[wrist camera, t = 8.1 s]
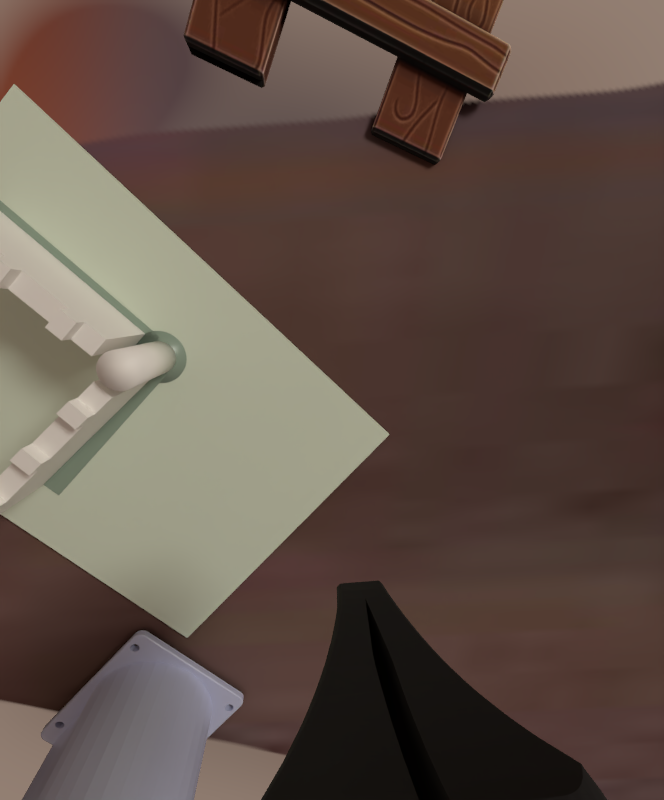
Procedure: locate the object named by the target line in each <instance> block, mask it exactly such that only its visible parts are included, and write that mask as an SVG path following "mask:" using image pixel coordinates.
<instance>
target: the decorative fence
mask: <svg viewBox="0 0 664 800" xmlns="http://www.w3.org/2000/svg"><path fill="white" fill-rule="evenodd" d="M291 1H292V2H294V3H296V4H298V5H300V6H302V7H304V8H306V9H307V10H309V11H311V12H313V13H315V14H317V15H319V16H321V17H323V18H325V19H327V20H328V21H331V22H332V23H334V24H336V25H338V26H340V27H342V28H344V29H346V30H348V31H350V32H352V33H353V34H356V35H357V36H359V37H361V38H363V39H365V40H367V41H369V42H371V43H373V44H375V45H376V46H378V47H380V48H382V49H384V50H386V51H388V52H390V53H392V54H394V55H395V56H397V60H396V63H395V65H394V69H393V71H392V74H391V76H390V79H389V82H388V85H387V88H386V90H385V93H384V96H383V99H382V102H381V105H380V107H379V110H378V112H377V116H376V119H375V121H374V124H373V127H372V130H371V132H372V135H374V136H376V137H378V138H380V139H382V140H384V141H386V142H389V143H391V144H393V145H395V146H397V147H399V148H401V149H403V150H405V151H407V152H409V153H411V154H413V155H416V156H418V157H420V158H422V159H424V160H426V161H428V162H430V163H432V164H437V163H438V162H439V161H440V160H441V157H442V155H443V152H444V149H445V147H446V144H447V142H448V139H449V137H450V134H451V132H452V129H453V127H454V124H455V122H456V119H457V117H458V114H459V112H460V109H461V107H462V104H463V102H464V99H465V97H466V94H467V93H468V94H470V95H472V96H474V97H476V98H478V99H480V100H482V101H483V102H485V101H487V100H489V99H490V98H491V97H492V96H493V95H494V92H495V90H496V87H497V85H498V82H499V80H500V78H501V75H502V73H503V70H504V68H505V65H506V63H507V61H508V58H509V56H510V53H511V47H510V45H509V44H508V43H506V42H504V41H502V40H501V39H499V38H497V37H495V36H493V35H492V34H491V31H492V28H493V26H494V23H495V21H496V18H497V16H498V13H499V11H500V8H501V5H502V3H503V1H504V0H193V3H192V7H191V10H190V14H189V18H188V22H187V25H186V29H185V33H184V38H185V40H186V42H187V45H188V47H189V50H190V52H191V54H192V55H194V56H196V57H198V58H200V59H202V60H204V61H207V62H208V63H211V64H213V65H215V66H217V67H219V68H221V69H223V70H225V71H227V72H229V73H231V74H233V75H236V76H238V77H240V78H242V79H244V80H246V81H248V82H250V83H252V84H254V85H256V86H258V87H261V88H262V87H265V84H266V81H267V78H268V75H269V71H270V68H271V65H272V62H273V58H274V55H275V52H276V49H277V46H278V42H279V39H280V36H281V32H282V29H283V26H284V22H285V19H286V16H287V13H288V10H289V7H290V3H291Z"/></svg>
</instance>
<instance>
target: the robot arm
mask: <svg viewBox="0 0 664 800" xmlns="http://www.w3.org/2000/svg"><path fill="white" fill-rule="evenodd" d="M134 644H136V645H138V646H135V645H134ZM243 697H244V696H243V694H242V693H241V692H240V691H238V690H237V689H235V688H234V687H232V686H231V685H229V684H228V683H226V682H225V681H223V680H222V679H220V678H218V677H217V676H215V675H214V674H212V673H211V672H209V671H208V670H206V669H205V668H203V667H202V666H200V665H198V664H197V663H195V662H194V661H192V660H191V659H189V658H188V657H186V656H185V655H183V654H182V653H180V652H178V651H177V650H175V649H174V648H172V647H171V646H169V645H168V644H166V643H165V642H163V641H162V640H160V639H159V638H157V637H155V636H154V635H152V634H151V633H149V632H148V631H145V630H141V631H138V632H136V633H135V634H134V635H133V636H132V637H131V638H130V639H129V640H128V641H127V642H126V643H125V644H124V645H123V646H122V647H121V648H120V650H119V651H118V652H117V653H116V654H115V655H114V656H113V657H112V658H111V659H110V660H109V661H108V662H107V663H106V664H105V665H104V666H103V667H102V668H101V669H100V670H99V671H98V672H97V673H96V674H95V675H94V676H93V677H92V678H91V679H90V680H89V681H88V682H87V683H86V685H85V686H84V687H83V688H82V689H81V690H80V691H79V692H78V693H77V694H76V695H75V696H74V697H73V698H72V699H71V700H70V701H69V702H68V703H67V704H66V705H65V706H64V707H63V708H62V709H61V710H60V711H59V712H58V713H57V714H56V715H55V716H54V717H53V718H52V720H51V721H50V722H49V723H48V724H47V725H46V726H45V727H44V729H43V731H42V732H41V737H42V739H43V740H45V741H47V742H49V743H50V744H52V745H53V746H52V748H51V750H50V751H49V753H48V755H47V756H46V758H45V760H44V762H43V764H42V765H41V767H40V769H39V771H38V772H37V774H36V776H35V778H34V780H33V781H32V783H31V785H30V787H29V788H28V790H27V792H26V794H25V795H24V797H23V799H22V800H194V796H195V791H196V787H197V781H198V777H199V772H200V768H201V763H202V758H203V754H204V748H205V744H206V740H207V738H208V737H209V736H210V735H211V734H212V733H213V732H214V731H215V730H216V729H217V728H218V727H219V726H221V725H222V724H223V723H224V722H225V721H226V720H227V719H228V718H229V717H230V716H231V715H232V714H233V713H234V712H235V711H236V710H237V709H238V708H239V707H240V706H241V705H242V704H243ZM229 704H230V705H229ZM261 800H607V799H606V797H605V796H604V795H603V793H602V792H601V790H600V789H599V787H598V786H597V785H596V783H595V782H594V781H593V779H592V778H591V777H590V775H589V774H588V773H587V772H586V770H585V769H584V767H583V766H582V764H581V763H579V762H577V761H576V760H574V759H572V758H571V757H569V756H568V755H566V754H564V753H563V752H561V751H559V750H558V749H556V748H555V747H553V746H551V745H550V744H548V743H546V742H545V741H543V740H542V739H540V738H538V737H537V736H535V735H534V734H532V733H531V732H530V731H528V730H527V729H525V728H524V727H522V726H521V725H520V724H518V723H517V722H515V721H514V720H512V719H511V718H510V717H508V716H507V715H506V714H504V713H503V712H502V711H500V710H499V709H498V708H497V707H495V706H494V705H493V704H492V703H490V702H489V701H488V700H487V699H485V698H484V697H483V696H482V695H480V694H479V693H478V692H477V691H476V690H474V689H473V688H472V687H471V686H470V685H469V684H468V683H466V682H465V681H464V680H463V679H462V678H461V677H460V676H459V675H458V674H457V673H456V672H455V671H454V670H453V669H451V668H450V667H449V666H448V665H447V664H446V663H445V662H444V660H443V659H442V658H441V657H440V656H439V655H438V654H437V653H436V652H435V651H434V650H433V649H432V648H431V647H430V646H429V644H428V643H427V642H426V641H425V640H424V639H423V638H422V636H421V635H420V634H419V633H418V632H417V631H416V629H415V628H414V627H413V626H412V624H411V623H410V622H409V621H408V619H407V618H406V617H405V616H404V614H403V613H402V612H401V610H400V609H399V608H398V606H397V605H396V604H395V602H394V601H393V599H392V598H391V597H390V595H389V594H388V592H387V591H386V589H385V588H384V586H383V584H382V583H381V582H380V581H369V582H356V583H343V584H340V585H339V586H338V587H337V614H336V620H335V626H334V631H333V636H332V640H331V644H330V648H329V651H328V655H327V659H326V662H325V666H324V669H323V672H322V675H321V678H320V681H319V683H318V686H317V689H316V692H315V694H314V697H313V699H312V702H311V704H310V707H309V709H308V712H307V714H306V716H305V718H304V721H303V723H302V725H301V727H300V729H299V731H298V733H297V735H296V737H295V739H294V741H293V743H292V745H291V747H290V749H289V751H288V753H287V755H286V757H285V759H284V761H283V763H282V765H281V767H280V768H279V770H278V772H277V774H276V775H275V777H274V779H273V780H272V782H271V784H270V785H269V787H268V789H267V791H266V792H265V794H264V796H263V797H262V799H261Z"/></svg>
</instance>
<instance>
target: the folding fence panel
mask: <svg viewBox="0 0 664 800" xmlns="http://www.w3.org/2000/svg"><path fill="white" fill-rule="evenodd" d="M147 382H148V381H147ZM147 382H144V383H142V384H140V385H138V386H136V387H134V388H131V389H129V390H126V391H114V390H111V389H109V388H107V387H106V386H105V385H103V384H102V382H101V381H100V380H97V381H94V382H93V383H92V384H91V385H90V386H89V387H88V388H87V389H86V390H85V391H84V392H83V393H82V394H81V395H80V396H79V397H78V398H76V399H73V400H71V401H68V402H67V403H66V404H65V405H64V406H63V407H62V408H61V409H60V410H59V411H58V412H57V413H56V414H57V415H58V416H59V417H58V418H57V419H56V420H55V421H54V422H53V423H52V424H51V425H50V426H49V427H48V428H47V429H46V430H45V431H44V432H43V433H42V434H41V435H40V436H39V437H38V438H37V439H36V440H35V441H34V442H33V443H32V444H30V445H28V446H26V447H24V448H22V449H21V450H20V451H19V452H18V453H17V454H16V455H15V456H14V457H13V458H12V459H11V460H10V461H11V462H12V464H11V465H10V466H9V467H8V468H7V469H6V470H5V471H4V472H3V473H2V474H1V475H0V514H1V513H3V512H4V511H6V510H7V509H9V508H10V507H12V506H13V505H15V504H16V503H18V502H19V501H21V500H22V499H24V498H25V497H26V496H28V495H29V494H31V493H32V492H34V491H35V490H37V489H38V488H40V487H41V486H42V485H43V484H44V483H45V482H46V481H48V480H49V479H50V478H51V477H52V476H53V475H54V474H55V473H56V472H57V471H58V470H59V469H60V468H61V467H62V466H63V465H64V464H65V463H66V462H67V461H68V460H69V459H70V458H71V457H72V456H73V455H74V454H75V453H76V452H77V451H78V450H79V449H80V448H81V447H82V446H83V445H84V444H85V443H86V442H87V441H88V440H89V439H90V438H91V437H92V436H93V435H94V434H95V433H96V432H97V431H98V430H99V429H100V428H101V427H102V426H103V425H104V424H105V423H106V422H107V421H108V420H109V419H110V418H112V417H113V416H114V415H115V414H116V413H117V412H118V411H119V410H120V409H121V408H122V407H123V406H124V405H125V404H126V403H127V402H128V401H129V400H130V399H131V398H132V397H133V396H134V395H135V394H136V393H137V392H138V391H139V390H140V389H141V388H142V387H143V386H144V385H145V384H146V383H147Z"/></svg>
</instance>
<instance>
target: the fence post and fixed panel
mask: <svg viewBox="0 0 664 800" xmlns="http://www.w3.org/2000/svg"><path fill="white" fill-rule="evenodd" d="M0 288H3V289H9V290H10V291H11V292H12V293H13V294H15V295H16V296H17V297H18V298H20V299H21V300H22V301H23V302H25V303H26V304H27V305H28V306H30V307H31V308H32V309H33V310H35V311H36V312H37V313H38V314H40V315H41V316H42V317H43V318H45V319H46V320H47V321H48V322H49V323H48V324H47V325H46V327H45V328H46V329H48V330H49V331H50V332H51V333H53V334H54V335H55V336H56V337H58V338H59V339H60V340H61V341H62V340H70V339H71V340H72V341H73V342H74V343H76V344H77V345H78V346H79V347H81V348H82V349H83V350H84V351H86V352H87V353H88V354H89V355H91V356H95V355H100V354H103V355H102V356H101V357H100V358H99V360H98V362H97V365H96V372H97V376H98V378H99V380H100V381H101V382H102V384H103V385H105V386H106V387H107V388H109V389H111V390H114V391H126V390H129V389H131V388H134V387H136V386H138V385H140V384H142V383H144V382H147V381H149V380H151V379H153V378H155V377H157V376H160V375H162V374H164V373H166V372H168V371H170V370H171V369H172V368H173V367H174V365H175V363H176V355H175V352H174V350H173V348H172V347H171V346H170V345H168V344H167V343H165V342H161V341H154V342H150V343H145V344H140V345H136V344H137V343H138V342H139V340H140V339H141V338H142V337H143V336H144V335H145V333H144V332H142V331H141V330H140V329H139V328H138V327H137V326H135V325H134V324H133V323H132V322H131V321H129V320H128V319H127V318H126V317H125V316H124V315H122V314H121V313H120V312H119V311H118V310H117V309H115V308H114V307H113V306H112V305H111V304H109V303H108V302H107V301H106V300H105V299H104V298H102V297H101V296H100V295H99V294H98V293H96V292H95V291H94V290H93V289H92V288H91V287H89V286H88V285H87V284H86V283H85V282H84V281H82V280H81V279H80V278H79V277H78V276H76V275H75V274H74V273H73V272H72V271H71V270H69V269H68V268H67V267H66V266H65V265H63V264H62V263H61V262H60V261H59V260H58V259H56V258H55V257H54V256H53V255H52V254H51V253H49V252H48V251H47V250H46V249H45V248H43V247H42V246H41V245H40V244H39V243H38V242H36V241H35V240H34V239H33V238H32V237H30V236H29V235H28V234H27V233H26V232H25V231H23V230H22V229H21V228H20V227H19V226H18V225H16V224H15V223H14V222H13V221H12V220H10V219H9V218H8V217H7V216H6V215H5V214H3V213H2V212H1V211H0Z"/></svg>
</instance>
